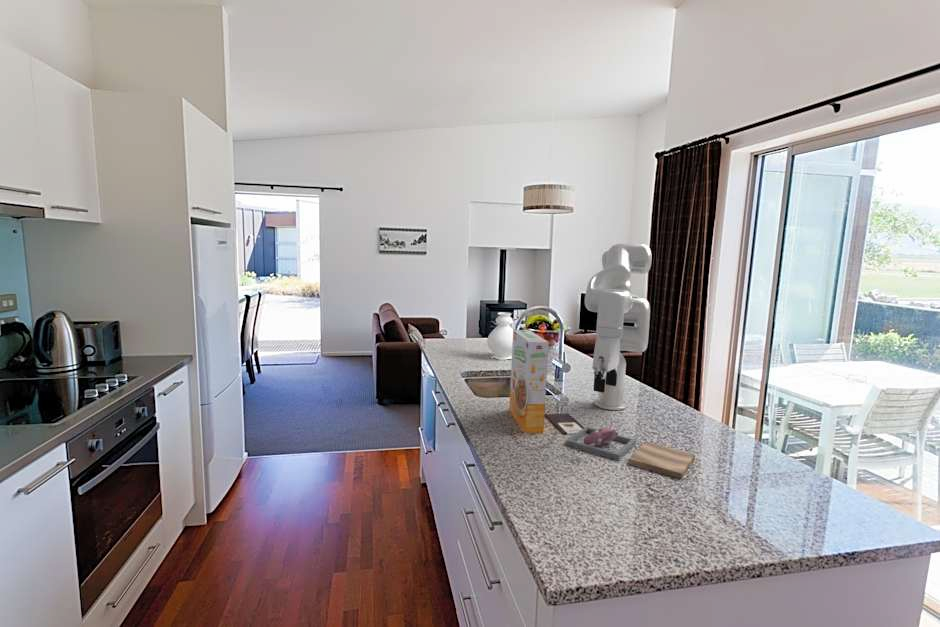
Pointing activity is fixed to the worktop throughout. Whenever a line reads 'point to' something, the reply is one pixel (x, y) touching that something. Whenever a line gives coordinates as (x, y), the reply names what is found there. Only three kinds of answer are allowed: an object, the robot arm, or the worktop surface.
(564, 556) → the worktop surface
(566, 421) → the chocolate bar
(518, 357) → the cereal box
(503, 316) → the decorative vase
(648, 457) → the walnut board
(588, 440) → the video game controller
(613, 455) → the frame
